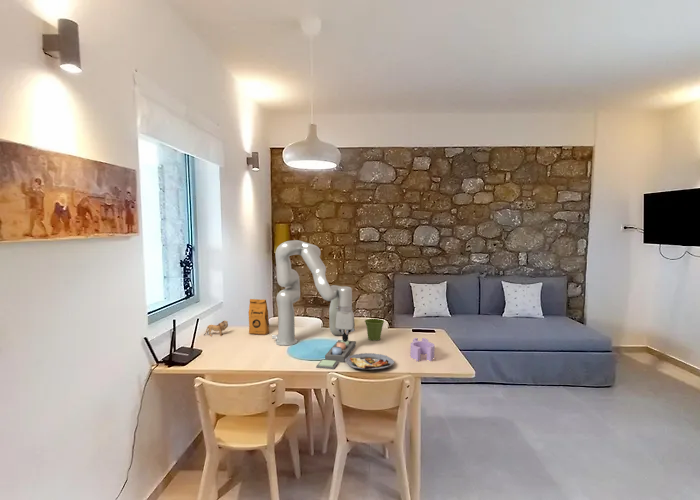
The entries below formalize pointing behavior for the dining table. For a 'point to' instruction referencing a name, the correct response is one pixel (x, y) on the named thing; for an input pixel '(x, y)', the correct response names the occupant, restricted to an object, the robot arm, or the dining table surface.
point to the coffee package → (258, 317)
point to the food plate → (369, 361)
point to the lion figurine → (217, 327)
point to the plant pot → (374, 328)
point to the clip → (422, 349)
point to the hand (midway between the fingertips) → (345, 341)
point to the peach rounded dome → (342, 345)
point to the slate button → (337, 351)
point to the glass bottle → (333, 317)
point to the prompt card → (327, 364)
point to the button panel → (344, 352)
